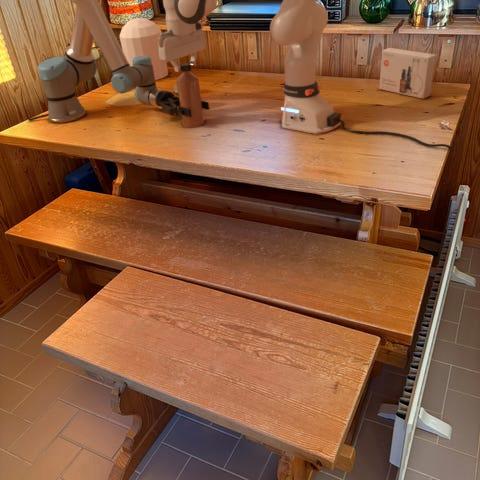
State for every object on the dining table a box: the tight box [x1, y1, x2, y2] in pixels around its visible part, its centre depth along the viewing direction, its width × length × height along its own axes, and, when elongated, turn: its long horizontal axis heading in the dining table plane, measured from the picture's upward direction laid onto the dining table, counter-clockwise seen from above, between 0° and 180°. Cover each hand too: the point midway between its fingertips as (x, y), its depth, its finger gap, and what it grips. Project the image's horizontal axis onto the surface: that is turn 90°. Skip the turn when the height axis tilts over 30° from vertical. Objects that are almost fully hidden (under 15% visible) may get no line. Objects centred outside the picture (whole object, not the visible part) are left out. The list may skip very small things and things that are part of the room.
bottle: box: [175, 70, 205, 128], centre depth 174 cm, size 8×8×22 cm
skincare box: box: [378, 47, 437, 100], centre depth 184 cm, size 21×6×16 cm, turn 40°
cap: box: [179, 62, 192, 73], centre depth 168 cm, size 4×4×2 cm
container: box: [119, 17, 169, 81], centre depth 235 cm, size 21×21×28 cm
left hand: (199, 109), depth 174 cm, fingers closed on bottle, 8 cm apart
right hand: (185, 68), depth 168 cm, fingers open, 6 cm apart
